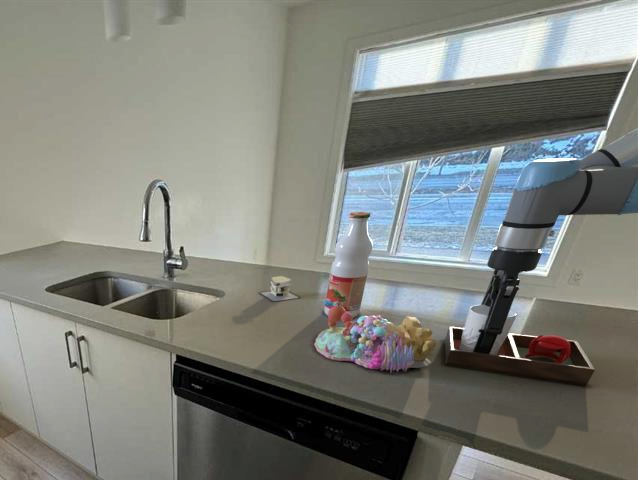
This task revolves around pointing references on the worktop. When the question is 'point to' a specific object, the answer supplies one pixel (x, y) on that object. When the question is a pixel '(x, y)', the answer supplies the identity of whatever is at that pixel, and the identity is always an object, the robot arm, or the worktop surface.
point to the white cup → (477, 322)
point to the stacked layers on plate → (279, 289)
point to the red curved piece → (550, 347)
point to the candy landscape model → (375, 341)
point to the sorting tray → (520, 360)
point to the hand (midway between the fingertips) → (477, 351)
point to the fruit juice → (350, 266)
